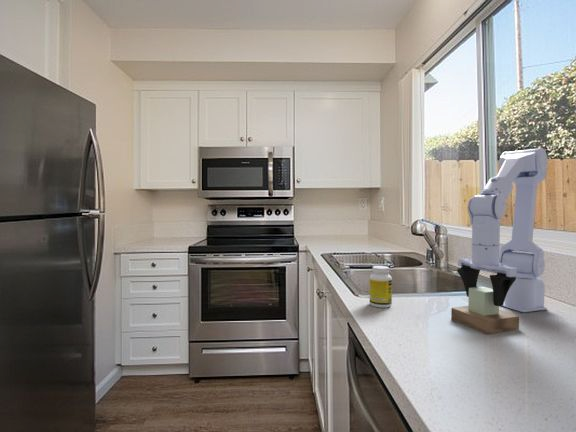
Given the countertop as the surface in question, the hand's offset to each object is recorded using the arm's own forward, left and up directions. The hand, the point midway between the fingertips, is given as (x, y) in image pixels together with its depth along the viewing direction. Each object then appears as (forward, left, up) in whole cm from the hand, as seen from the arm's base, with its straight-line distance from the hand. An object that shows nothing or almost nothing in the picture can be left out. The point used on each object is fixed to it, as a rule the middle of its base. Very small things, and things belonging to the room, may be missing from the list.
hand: (484, 300), depth 81 cm
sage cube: (0, 0, -3) cm, 3 cm away
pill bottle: (+15, -21, -6) cm, 26 cm away
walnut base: (0, 0, -6) cm, 6 cm away
